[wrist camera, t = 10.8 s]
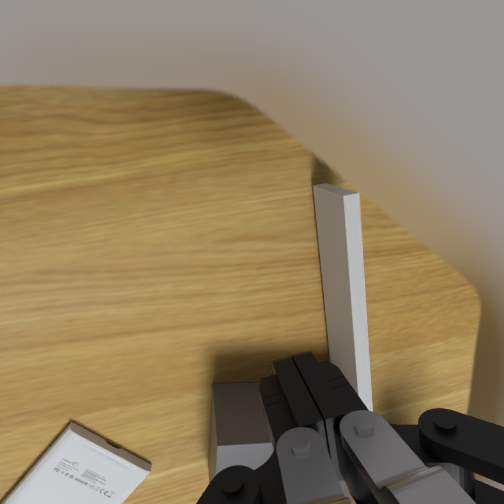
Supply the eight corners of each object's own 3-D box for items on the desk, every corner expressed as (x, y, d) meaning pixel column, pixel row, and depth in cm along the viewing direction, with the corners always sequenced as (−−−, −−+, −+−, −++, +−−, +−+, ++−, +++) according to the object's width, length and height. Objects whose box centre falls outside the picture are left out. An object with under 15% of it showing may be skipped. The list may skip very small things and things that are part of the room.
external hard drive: (-11, 514, 33) (73, 416, 32) (70, 549, 36) (153, 459, 34) (-21, 532, 32) (67, 430, 30) (65, 568, 34) (151, 474, 33)
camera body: (208, 468, 35) (213, 556, 27) (212, 383, 32) (218, 455, 25) (345, 458, 37) (383, 538, 29) (358, 378, 34) (403, 443, 27)
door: (311, 185, 28) (341, 196, 23) (333, 181, 28) (368, 191, 23) (331, 382, 33) (359, 431, 28) (349, 378, 34) (381, 425, 28)
